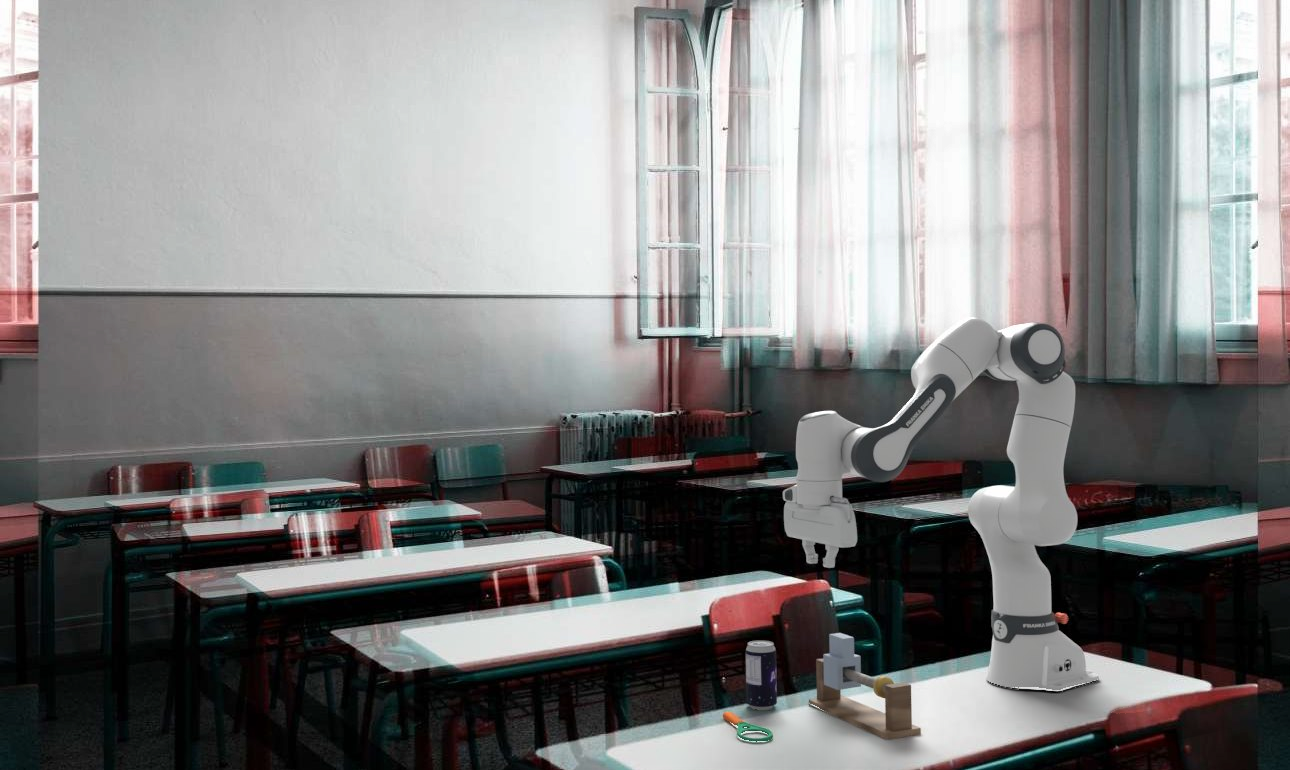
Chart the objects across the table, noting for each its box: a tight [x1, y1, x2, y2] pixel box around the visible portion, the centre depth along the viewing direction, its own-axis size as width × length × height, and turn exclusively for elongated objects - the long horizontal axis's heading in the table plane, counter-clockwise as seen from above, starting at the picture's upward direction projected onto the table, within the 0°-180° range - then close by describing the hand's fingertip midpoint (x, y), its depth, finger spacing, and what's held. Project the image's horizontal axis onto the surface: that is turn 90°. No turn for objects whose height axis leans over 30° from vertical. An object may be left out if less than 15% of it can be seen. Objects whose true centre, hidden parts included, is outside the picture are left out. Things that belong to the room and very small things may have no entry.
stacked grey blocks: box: [822, 632, 862, 690], centre depth 211 cm, size 4×5×9 cm
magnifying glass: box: [722, 711, 774, 742], centre depth 200 cm, size 15×6×2 cm, turn 19°
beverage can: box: [745, 640, 778, 711], centre depth 214 cm, size 6×6×12 cm
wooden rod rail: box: [808, 658, 922, 740], centre depth 206 cm, size 24×7×9 cm, turn 25°
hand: (820, 565), depth 222 cm, fingers open, 4 cm apart
